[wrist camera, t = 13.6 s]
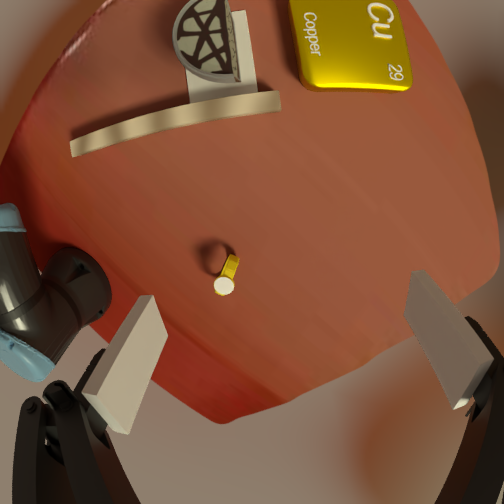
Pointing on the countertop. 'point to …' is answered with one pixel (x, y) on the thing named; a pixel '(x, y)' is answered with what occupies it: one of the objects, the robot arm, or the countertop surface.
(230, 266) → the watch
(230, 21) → the food container
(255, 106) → the maple straightedge
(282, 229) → the countertop surface
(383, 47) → the element tile
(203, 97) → the plate
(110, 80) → the countertop surface
